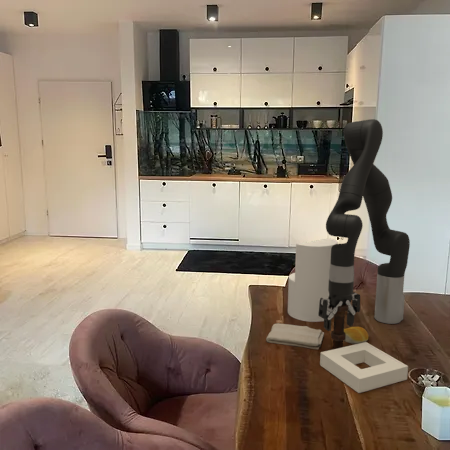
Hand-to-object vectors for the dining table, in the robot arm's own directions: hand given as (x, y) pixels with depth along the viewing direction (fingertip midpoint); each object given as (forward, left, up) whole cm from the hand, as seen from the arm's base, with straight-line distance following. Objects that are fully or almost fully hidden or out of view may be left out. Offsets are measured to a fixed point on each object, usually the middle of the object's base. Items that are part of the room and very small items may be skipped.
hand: (338, 327), depth 150 cm
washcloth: (+8, -12, -8) cm, 16 cm away
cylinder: (-10, -29, -7) cm, 32 cm away
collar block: (+3, +15, -7) cm, 17 cm away
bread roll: (-10, -4, -8) cm, 13 cm away
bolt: (0, 0, -7) cm, 7 cm away
